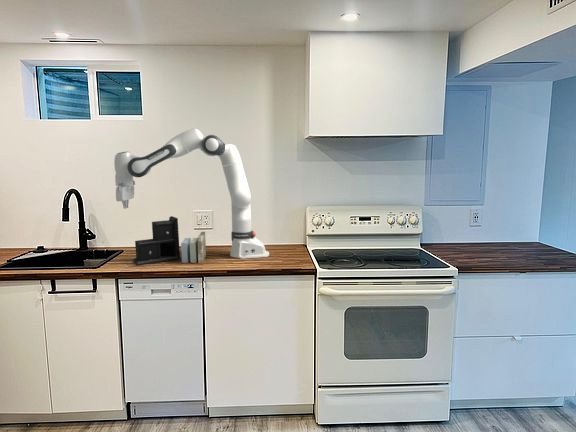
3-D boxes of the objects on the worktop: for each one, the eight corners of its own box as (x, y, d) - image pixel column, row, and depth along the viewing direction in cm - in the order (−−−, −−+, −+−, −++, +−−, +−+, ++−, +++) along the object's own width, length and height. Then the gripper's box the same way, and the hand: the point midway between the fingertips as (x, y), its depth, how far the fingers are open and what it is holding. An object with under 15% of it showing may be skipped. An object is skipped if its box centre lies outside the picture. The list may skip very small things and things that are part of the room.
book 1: (191, 257, 233) (190, 238, 232) (187, 262, 219) (186, 242, 218) (186, 257, 233) (185, 238, 232) (182, 263, 219) (181, 242, 218)
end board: (206, 255, 236) (205, 231, 234) (202, 263, 218) (201, 237, 216) (202, 255, 236) (201, 231, 234) (198, 263, 218) (197, 237, 216)
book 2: (199, 256, 234) (198, 237, 232) (196, 262, 220) (195, 242, 218) (194, 256, 233) (193, 237, 232) (190, 262, 219) (189, 242, 218)
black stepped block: (136, 266, 214) (134, 221, 211) (132, 262, 223) (129, 219, 220) (180, 260, 226) (178, 218, 223) (174, 256, 235) (172, 216, 232)
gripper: (124, 183, 208) (126, 210, 210) (135, 181, 228) (137, 206, 230) (111, 183, 207) (113, 210, 209) (124, 181, 227) (125, 206, 229)
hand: (125, 208), depth 220 cm, fingers closed
